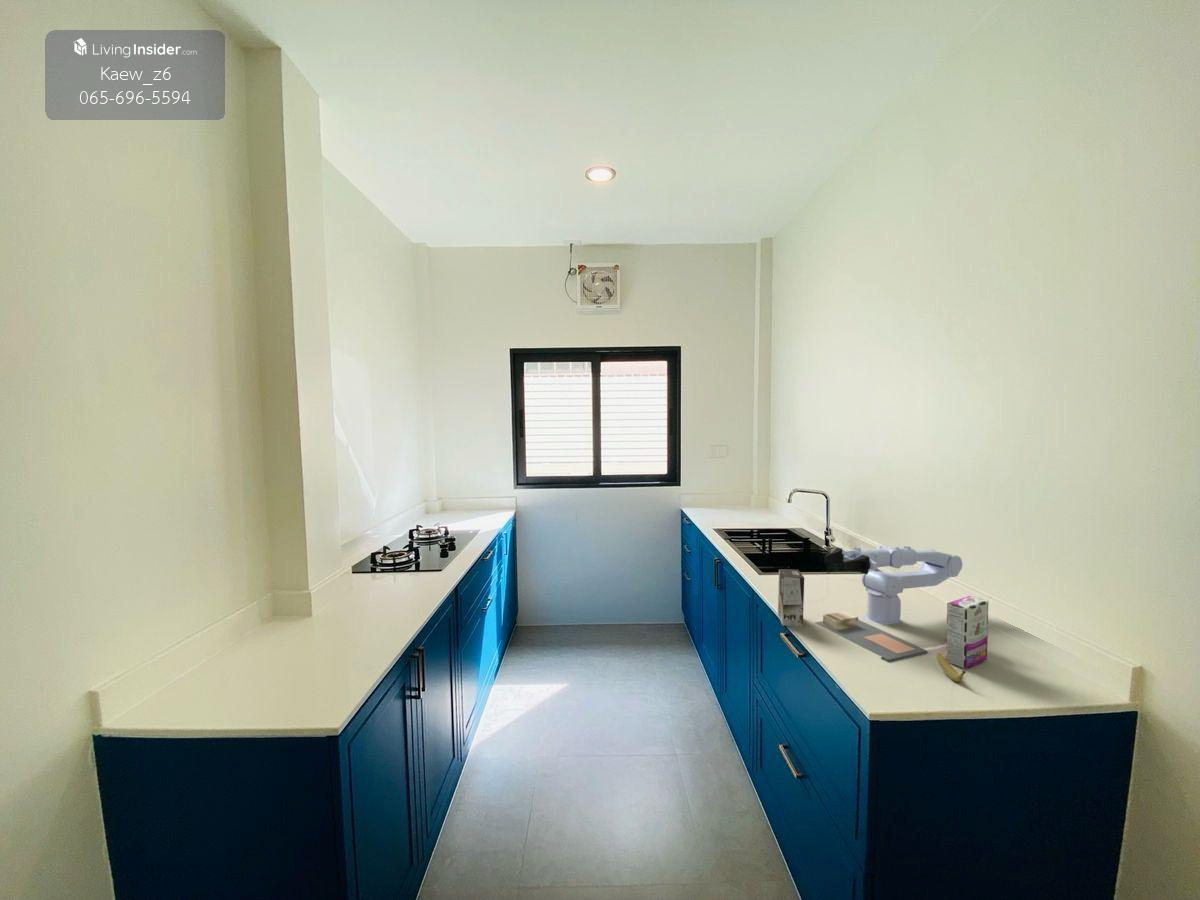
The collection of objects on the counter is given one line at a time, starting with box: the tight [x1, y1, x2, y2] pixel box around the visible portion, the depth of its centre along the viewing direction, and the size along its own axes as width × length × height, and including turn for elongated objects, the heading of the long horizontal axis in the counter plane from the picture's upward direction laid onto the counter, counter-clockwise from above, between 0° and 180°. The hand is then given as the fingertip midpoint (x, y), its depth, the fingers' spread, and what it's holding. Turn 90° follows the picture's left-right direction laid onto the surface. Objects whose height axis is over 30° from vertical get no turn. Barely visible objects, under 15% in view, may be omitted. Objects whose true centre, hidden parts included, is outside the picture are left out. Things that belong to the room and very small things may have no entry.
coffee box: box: [777, 568, 805, 628], centre depth 157 cm, size 9×6×16 cm
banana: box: [935, 652, 967, 683], centre depth 123 cm, size 10×2×4 cm, turn 177°
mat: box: [814, 619, 928, 663], centre depth 146 cm, size 15×26×1 cm, turn 20°
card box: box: [822, 610, 859, 631], centre depth 153 cm, size 9×5×3 cm, turn 110°
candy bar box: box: [945, 595, 989, 670], centre depth 131 cm, size 11×5×16 cm, turn 117°
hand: (835, 562), depth 150 cm, fingers open, 7 cm apart
